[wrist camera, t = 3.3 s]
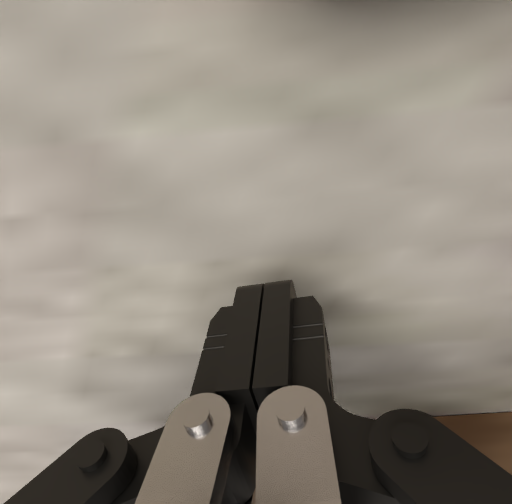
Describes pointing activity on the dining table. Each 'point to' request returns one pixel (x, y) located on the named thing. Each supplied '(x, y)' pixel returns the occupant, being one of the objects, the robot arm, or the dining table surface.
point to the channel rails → (485, 434)
